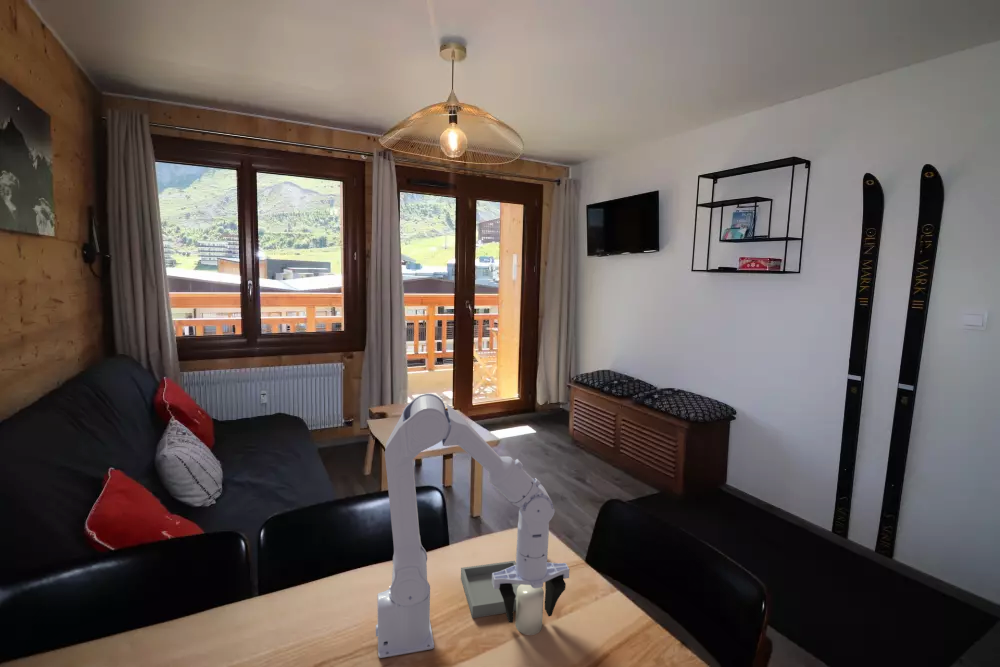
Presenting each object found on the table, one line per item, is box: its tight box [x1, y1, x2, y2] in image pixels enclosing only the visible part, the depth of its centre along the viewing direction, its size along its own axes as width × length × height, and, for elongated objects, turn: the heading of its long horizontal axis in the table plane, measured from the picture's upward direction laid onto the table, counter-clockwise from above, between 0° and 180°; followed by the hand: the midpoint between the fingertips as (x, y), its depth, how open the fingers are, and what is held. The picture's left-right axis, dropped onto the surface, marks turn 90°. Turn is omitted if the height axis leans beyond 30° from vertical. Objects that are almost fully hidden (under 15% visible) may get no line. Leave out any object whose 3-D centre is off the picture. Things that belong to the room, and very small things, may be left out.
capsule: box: [514, 584, 545, 636], centre depth 91 cm, size 5×5×7 cm
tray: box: [460, 560, 521, 619], centre depth 100 cm, size 12×12×2 cm
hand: (529, 615), depth 92 cm, fingers open, 7 cm apart
